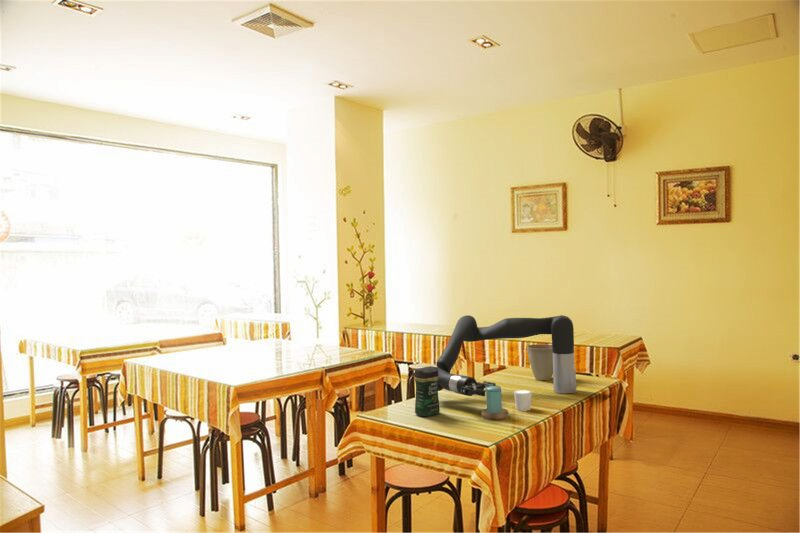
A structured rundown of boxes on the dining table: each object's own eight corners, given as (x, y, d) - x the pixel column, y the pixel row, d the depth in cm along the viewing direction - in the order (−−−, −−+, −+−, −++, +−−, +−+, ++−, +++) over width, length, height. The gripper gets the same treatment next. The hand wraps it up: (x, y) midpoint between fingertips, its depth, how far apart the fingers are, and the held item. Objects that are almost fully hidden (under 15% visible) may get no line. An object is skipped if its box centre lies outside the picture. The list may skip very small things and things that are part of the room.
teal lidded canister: (501, 409, 221) (500, 386, 221) (502, 413, 216) (501, 389, 216) (486, 409, 222) (485, 386, 222) (487, 413, 216) (486, 389, 216)
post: (507, 412, 223) (506, 392, 223) (509, 420, 213) (508, 398, 213) (481, 412, 224) (480, 392, 224) (482, 420, 215) (481, 399, 214)
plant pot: (557, 383, 269) (556, 349, 268) (525, 381, 274) (524, 348, 274) (560, 376, 283) (559, 344, 282) (530, 375, 288) (529, 343, 288)
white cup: (522, 412, 223) (521, 394, 223) (510, 408, 229) (510, 391, 229) (535, 409, 226) (535, 392, 226) (524, 405, 232) (523, 388, 232)
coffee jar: (425, 418, 220) (423, 370, 220) (412, 414, 226) (410, 367, 226) (443, 413, 226) (441, 366, 226) (430, 409, 232) (428, 364, 232)
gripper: (449, 378, 228) (479, 385, 215) (474, 372, 236) (504, 378, 224) (450, 397, 228) (479, 404, 215) (475, 390, 236) (505, 397, 224)
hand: (492, 391), depth 219 cm, fingers open, 8 cm apart
